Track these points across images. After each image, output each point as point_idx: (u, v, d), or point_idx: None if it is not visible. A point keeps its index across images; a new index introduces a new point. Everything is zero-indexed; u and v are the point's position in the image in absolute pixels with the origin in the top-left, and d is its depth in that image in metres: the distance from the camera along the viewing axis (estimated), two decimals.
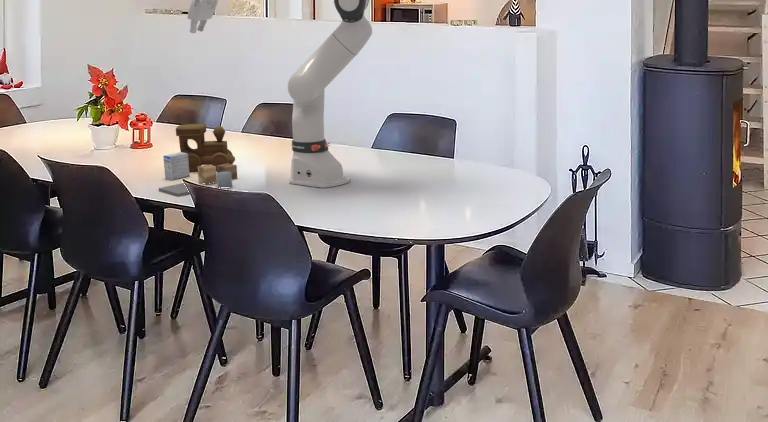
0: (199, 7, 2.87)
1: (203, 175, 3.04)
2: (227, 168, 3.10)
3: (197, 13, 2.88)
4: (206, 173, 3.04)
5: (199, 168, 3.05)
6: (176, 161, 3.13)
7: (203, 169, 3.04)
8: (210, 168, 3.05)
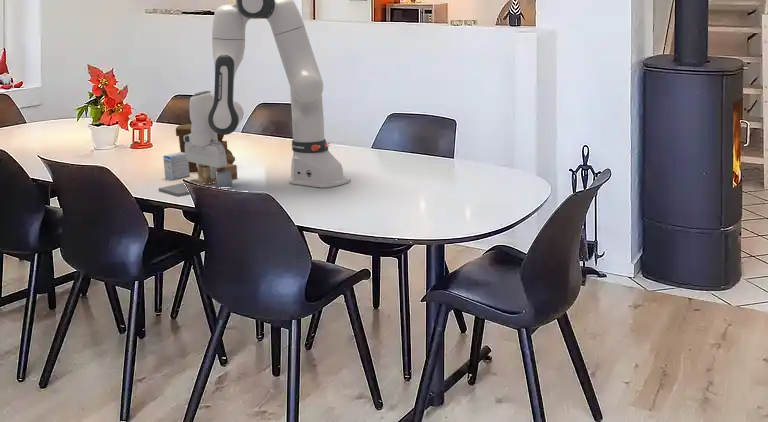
0: (225, 153, 2.99)
1: (203, 175, 3.04)
2: (227, 168, 3.10)
3: (225, 159, 2.99)
4: (206, 173, 3.04)
5: (199, 168, 3.05)
6: (176, 161, 3.13)
7: (203, 169, 3.04)
8: None
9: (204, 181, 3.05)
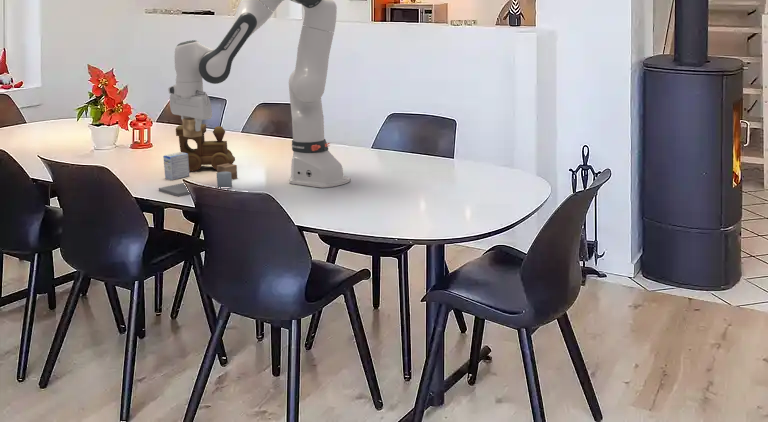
0: (210, 104, 2.90)
1: (188, 128, 2.96)
2: (227, 168, 3.10)
3: (211, 111, 2.91)
4: (191, 125, 2.95)
5: (184, 120, 2.97)
6: (176, 161, 3.13)
7: (188, 121, 2.95)
8: None
9: (189, 134, 2.96)
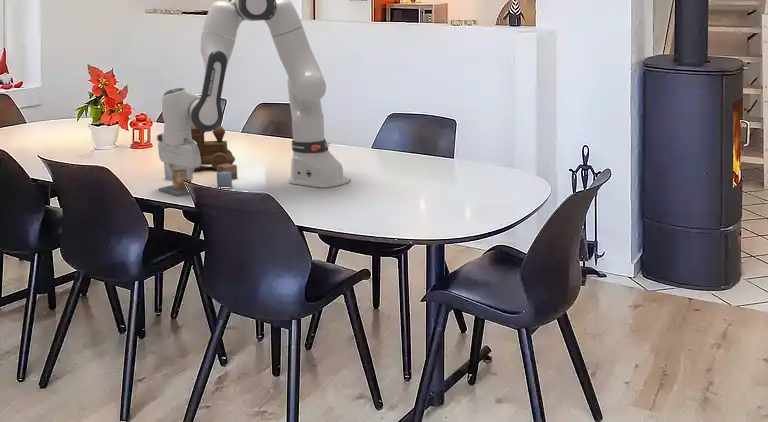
0: (199, 153, 2.88)
1: (177, 180, 2.94)
2: (227, 168, 3.10)
3: (200, 159, 2.88)
4: (180, 177, 2.93)
5: (173, 172, 2.94)
6: None
7: (177, 173, 2.93)
8: (184, 172, 2.94)
9: (178, 186, 2.94)
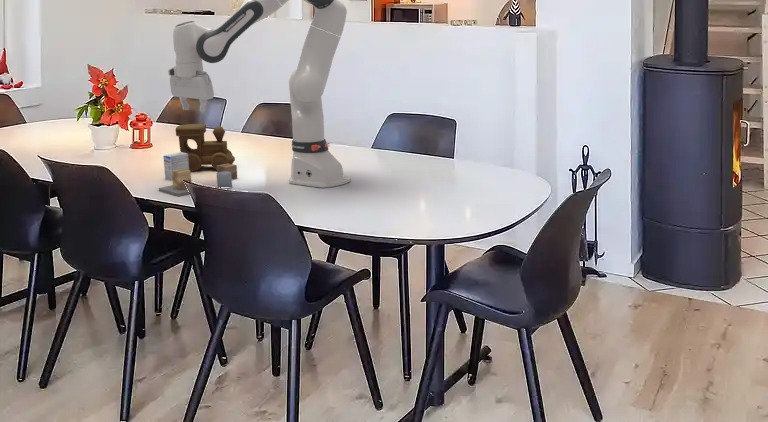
0: (211, 84, 2.91)
1: (177, 180, 2.94)
2: (227, 168, 3.10)
3: (212, 90, 2.92)
4: (180, 177, 2.93)
5: (173, 172, 2.94)
6: (176, 161, 3.13)
7: (177, 173, 2.93)
8: (184, 172, 2.94)
9: (178, 186, 2.94)
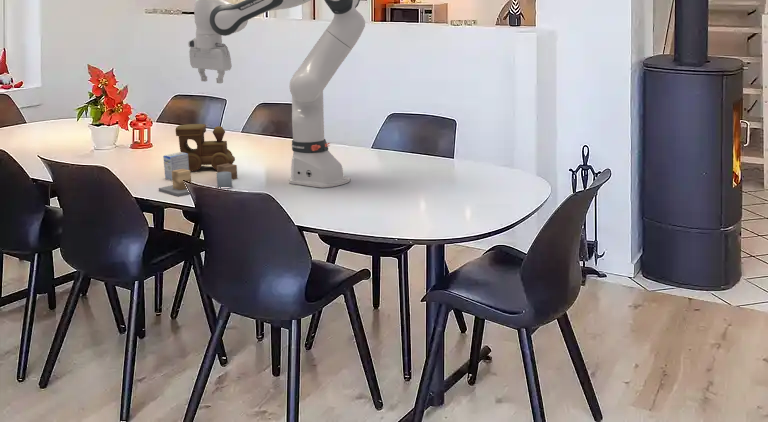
0: (229, 56, 3.01)
1: (177, 180, 2.94)
2: (227, 168, 3.10)
3: (230, 62, 3.01)
4: (180, 177, 2.93)
5: (173, 172, 2.94)
6: (176, 161, 3.13)
7: (177, 173, 2.93)
8: (184, 172, 2.94)
9: (178, 186, 2.94)
